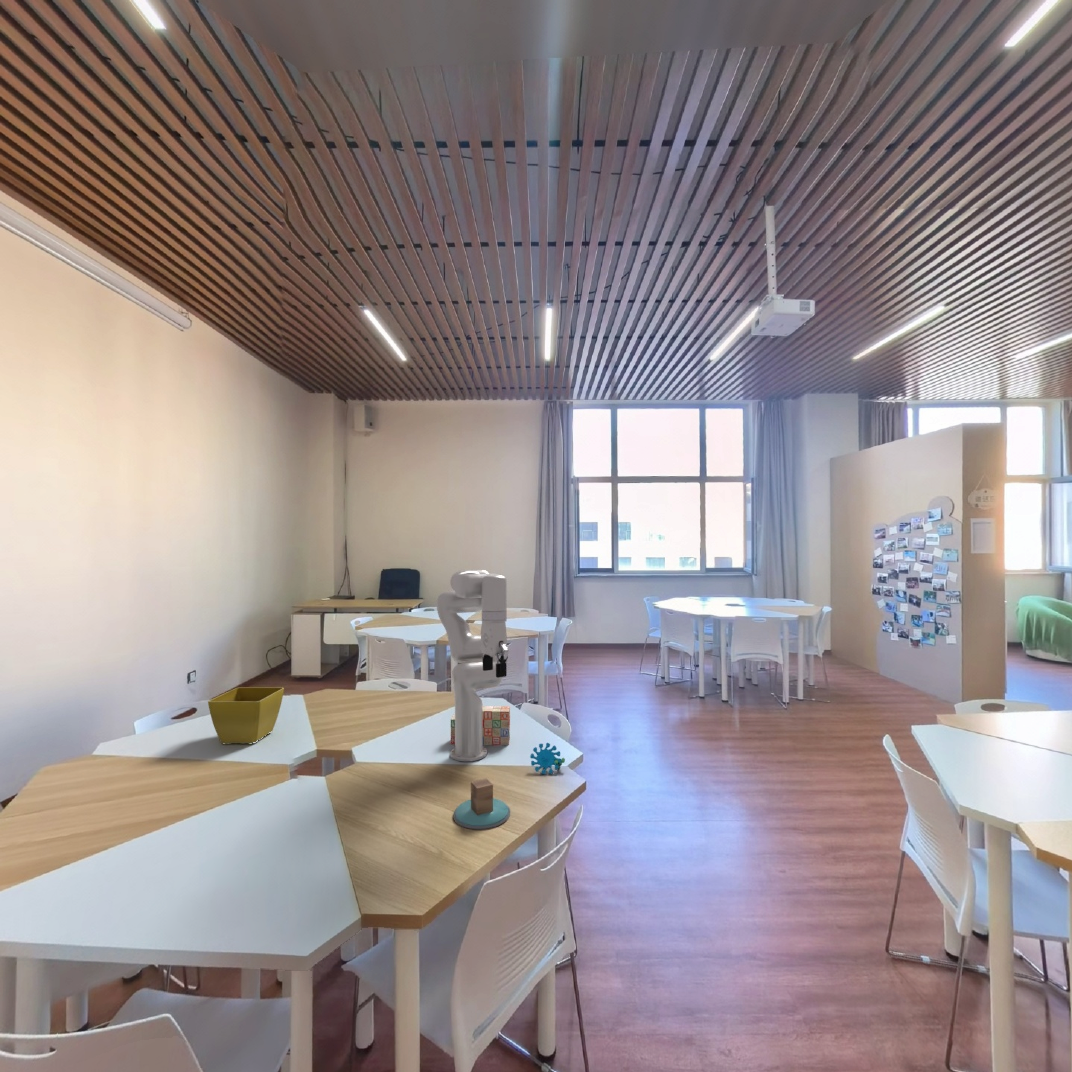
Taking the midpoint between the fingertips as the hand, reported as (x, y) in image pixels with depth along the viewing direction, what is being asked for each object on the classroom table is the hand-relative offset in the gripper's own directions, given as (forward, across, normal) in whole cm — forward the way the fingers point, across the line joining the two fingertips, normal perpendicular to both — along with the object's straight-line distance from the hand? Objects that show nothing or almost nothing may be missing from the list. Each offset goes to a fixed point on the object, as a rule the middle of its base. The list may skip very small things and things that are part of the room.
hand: (494, 673), depth 157 cm
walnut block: (+32, +14, -10) cm, 36 cm away
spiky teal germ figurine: (+34, -2, +19) cm, 39 cm away
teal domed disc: (+33, +14, -10) cm, 37 cm away
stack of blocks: (+34, -36, +10) cm, 50 cm away
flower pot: (+34, -82, -65) cm, 110 cm away
